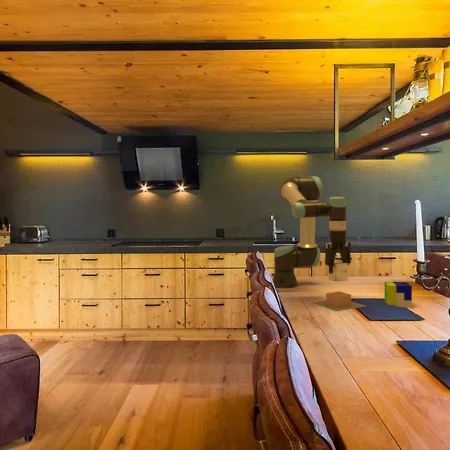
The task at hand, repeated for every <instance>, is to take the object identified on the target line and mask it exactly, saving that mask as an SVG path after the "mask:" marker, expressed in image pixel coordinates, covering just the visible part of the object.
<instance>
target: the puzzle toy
mask: <svg viewBox="0 0 450 450" xmlns="http://www.w3.org/2000/svg"><path fill="white" fill-rule="evenodd" d="M412 294H413V286H412V285H411V284H410V283H408V281H384V303H385V304H387V305H389V306H394V307H398V308H406V309H407V308H413V301H412V300H413V295H412Z"/></svg>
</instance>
